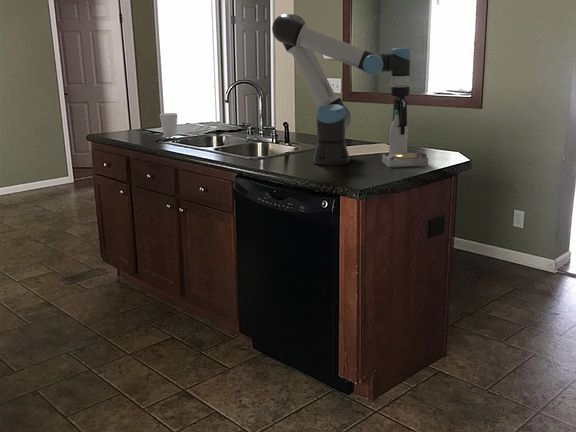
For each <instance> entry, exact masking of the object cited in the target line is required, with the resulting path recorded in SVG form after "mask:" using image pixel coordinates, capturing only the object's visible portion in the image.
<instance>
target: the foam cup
mask: <svg viewBox="0 0 576 432" xmlns="http://www.w3.org/2000/svg"><path fill="white" fill-rule="evenodd" d="M159 119H160V124H161V127H162V133H163V137H164V136H165V137H172V136H176V137H177V128H178V113H176V112H165V113H160V114H159ZM165 137H164V138H165Z"/></svg>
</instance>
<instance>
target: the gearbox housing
mask: <svg viewBox="0 0 576 432" xmlns="http://www.w3.org/2000/svg"><path fill="white" fill-rule="evenodd" d="M382 163H383V164H384V165H385V166H387V168H400V167H401V168H403V167H408V168H409V167H423V166H425V167H427V166H429V157H428V156H427V153H426V152H424V151H423V150H421V149H417V152H408V151H407V152H401V153H394V154H389V152H388V153H387V152H386V153H383V154H382Z"/></svg>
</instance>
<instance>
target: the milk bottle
mask: <svg viewBox="0 0 576 432" xmlns="http://www.w3.org/2000/svg"><path fill="white" fill-rule="evenodd" d="M394 115H395V118H394V121H393V120H392V123H391V125H390V128H389V129H390V130H389V147H388V148H389V149H388V154H394V153H401V152H408V146H409V145H408V144H409V128H408V125H407V126H406V127H405V142H398V134H399V127H398V125H399V112H398V111H397V110H395V111H394Z"/></svg>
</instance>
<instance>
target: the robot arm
mask: <svg viewBox="0 0 576 432" xmlns="http://www.w3.org/2000/svg"><path fill="white" fill-rule="evenodd" d="M271 28H272V29H271V30H272V35H273V37H274V39H276V40H277V41H278V42H280V43H282V45H283V47H284V48H285V50H286V53H289V54H291V55H292V57H293V59H294V61H295V62H296V65H297V67H298V68H299V70H300V72H301V74H302V76H303V78H304V80H305V82H306V84H307V86H308V89H309V90H310V93H311V94H312V97H313V98H314V100H315V102H316V104H317V105H316V108H315V110H316V129H317V130H316V132H317V133H316V135H317V136H316V137H317V138H316V141H317V144H316V148H315V151H314V155H313V164H315V165H320V166H341V165H346V164H348V163H350V154H349V152H348V148H347V145H346V129H347V128H348V127H349V125H350V123H351V118H352V117H351V113H350V112H351V111H350V110H349V108H348V107H347V106H345V103H344V102H343V100H342V98H341V96H339V95H336V94H335V91H334V90H333V88H332V85H331V84H330V81H329V80H328V78H327V76H326V74H325V72H324V70H323V68H322V65H321V64H320V61H319V60H318V58H317V56H316V54H315V52H316V53H318V54H321V55H323V56H326V57H328V58H330V59H334V60H336V61H338V62H341V63H343V64H346V65H349V66H351V67H353V68H357V69H359V70H361V71H363V72H364V73H367V74H369V75H377V74H380V73H391V81H390V85H391V86H392V87H391V88H390V95H391V96H392V97H395V98H393V110H392V112H393V113H392V122H393V121H394V118H395V115H394V111H395V110H397V111H398V112H399V125H398V127H399V134H398V142H405V127H406V126H407V127H408V112H407V111H408V109H407V108H408V102H407V100H406V98H405V97H409V95H410V86H409V85H410V82H411V81H412V77H410V75H411V50H410V49H409V47H394V48H391V52H388V53H373V52H372V51H371V52H370V51H367V50H365V49H364V48H363V49H362V48H360V47H358V46H355V45H353V44H350V43H348V42H345V41H343V40H340V39H338V38H335V37H332V36H330V35H327V34H324V33H322V32H319V31H318V30H315V29H312V28H309V27H308V25H307V24H306V21H305V20H304V19H303V18H302V17H300V16H299V15H297V14H295V13H294V14H293V13H291V14H290V13H283V14H280V15H278V16H277V17H276V18H275V19H274V21H273V22H272V27H271ZM410 80H411V81H410Z"/></svg>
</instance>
